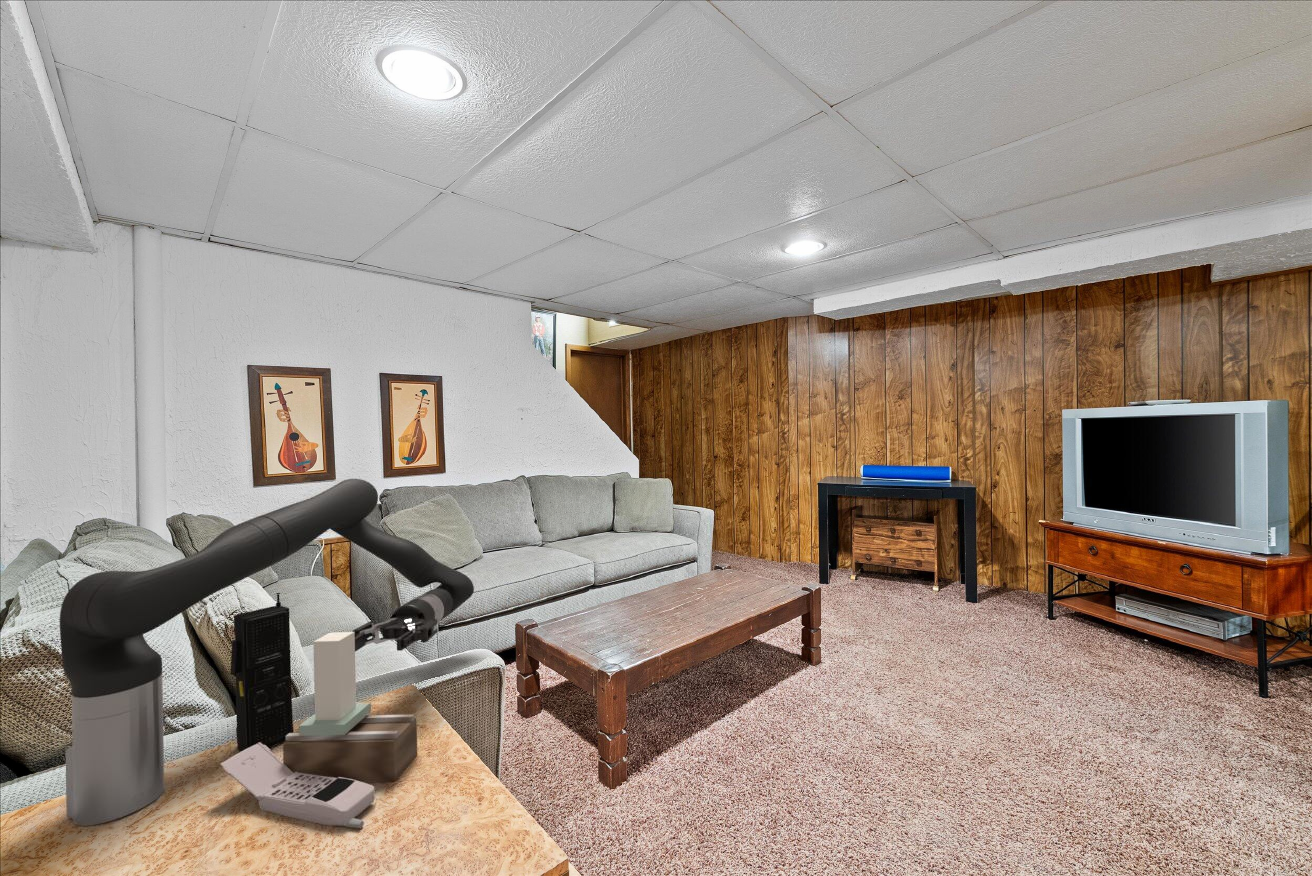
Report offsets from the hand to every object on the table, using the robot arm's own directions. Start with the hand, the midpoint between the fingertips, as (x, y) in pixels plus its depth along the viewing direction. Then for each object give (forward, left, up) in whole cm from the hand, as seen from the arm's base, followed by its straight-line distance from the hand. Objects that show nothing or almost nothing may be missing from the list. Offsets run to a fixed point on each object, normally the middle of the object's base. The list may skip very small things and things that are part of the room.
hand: (375, 645), depth 95 cm
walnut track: (+2, -11, -15) cm, 19 cm away
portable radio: (-18, -4, -15) cm, 24 cm away
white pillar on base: (0, -11, -8) cm, 14 cm away
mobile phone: (0, -19, -15) cm, 25 cm away
